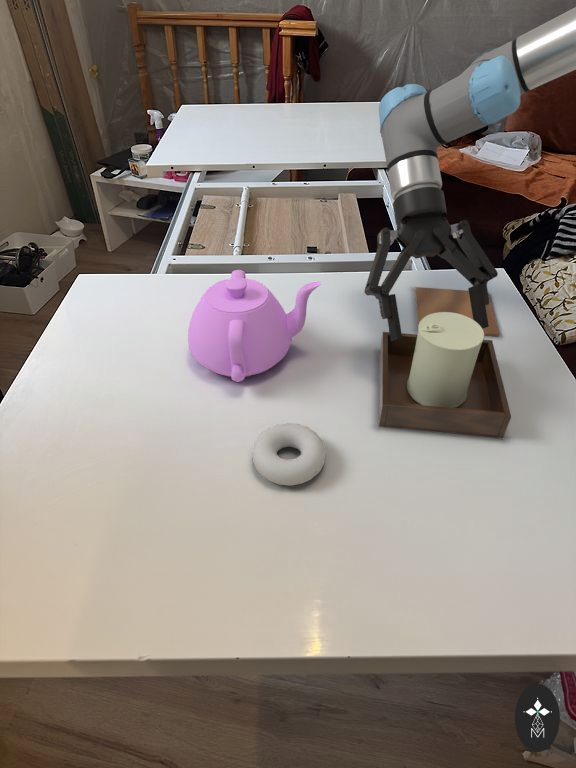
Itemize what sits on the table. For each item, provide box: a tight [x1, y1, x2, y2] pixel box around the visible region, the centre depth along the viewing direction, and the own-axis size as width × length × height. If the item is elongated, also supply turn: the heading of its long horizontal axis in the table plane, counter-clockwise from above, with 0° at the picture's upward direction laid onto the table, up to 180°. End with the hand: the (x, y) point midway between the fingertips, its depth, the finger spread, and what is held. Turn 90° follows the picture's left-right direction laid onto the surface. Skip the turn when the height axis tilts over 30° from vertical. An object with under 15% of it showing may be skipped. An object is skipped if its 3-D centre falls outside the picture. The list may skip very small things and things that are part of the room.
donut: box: [251, 422, 327, 486], centre depth 72 cm, size 10×4×10 cm
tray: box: [378, 331, 512, 439], centre depth 82 cm, size 18×18×4 cm
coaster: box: [414, 286, 500, 338], centre depth 100 cm, size 14×14×1 cm
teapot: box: [187, 269, 322, 383], centre depth 86 cm, size 22×22×14 cm
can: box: [407, 312, 485, 408], centre depth 79 cm, size 9×9×12 cm
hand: (439, 334), depth 79 cm, fingers open, 13 cm apart
